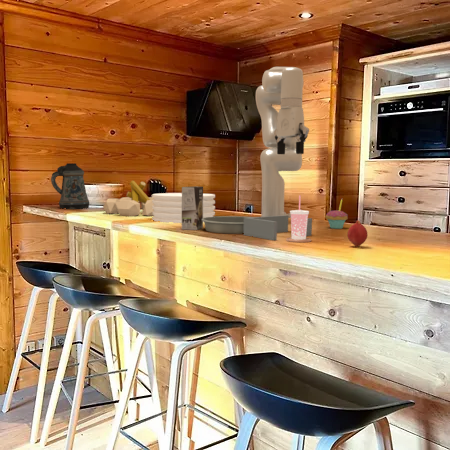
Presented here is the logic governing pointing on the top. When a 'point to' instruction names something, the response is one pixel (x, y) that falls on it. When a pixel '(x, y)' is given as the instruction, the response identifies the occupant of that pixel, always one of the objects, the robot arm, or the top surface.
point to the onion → (357, 234)
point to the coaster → (298, 240)
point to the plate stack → (177, 207)
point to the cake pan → (225, 224)
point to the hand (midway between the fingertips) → (290, 154)
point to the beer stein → (71, 187)
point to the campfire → (131, 202)
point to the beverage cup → (299, 223)
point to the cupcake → (336, 218)
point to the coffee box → (192, 208)
